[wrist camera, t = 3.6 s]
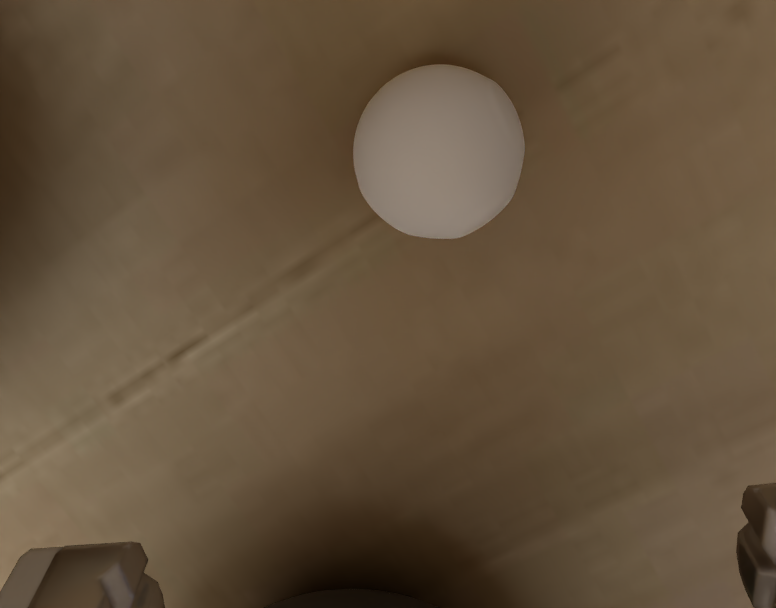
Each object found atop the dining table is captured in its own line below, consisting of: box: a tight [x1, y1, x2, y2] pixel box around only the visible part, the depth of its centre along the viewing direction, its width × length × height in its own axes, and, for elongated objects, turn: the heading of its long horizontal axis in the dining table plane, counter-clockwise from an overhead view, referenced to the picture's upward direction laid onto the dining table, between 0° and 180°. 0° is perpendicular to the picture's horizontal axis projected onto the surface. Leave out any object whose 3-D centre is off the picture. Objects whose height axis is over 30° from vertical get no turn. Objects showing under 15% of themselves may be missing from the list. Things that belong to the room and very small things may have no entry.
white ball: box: [353, 64, 525, 239], centre depth 21 cm, size 5×5×5 cm
